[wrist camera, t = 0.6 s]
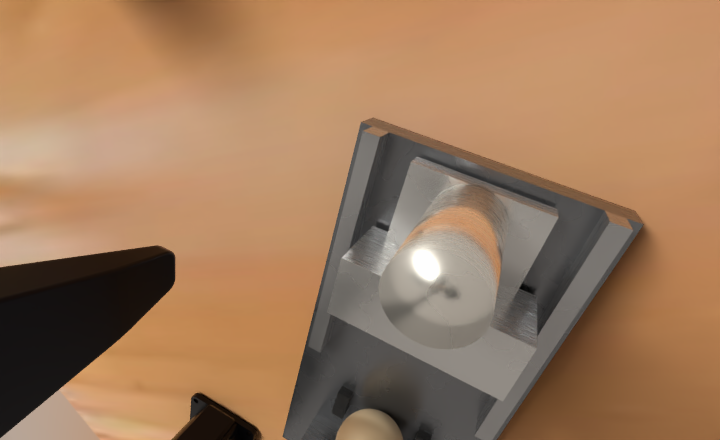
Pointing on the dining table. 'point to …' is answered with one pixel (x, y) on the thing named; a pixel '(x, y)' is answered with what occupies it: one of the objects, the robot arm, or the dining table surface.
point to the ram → (450, 277)
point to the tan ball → (369, 426)
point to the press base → (407, 373)
